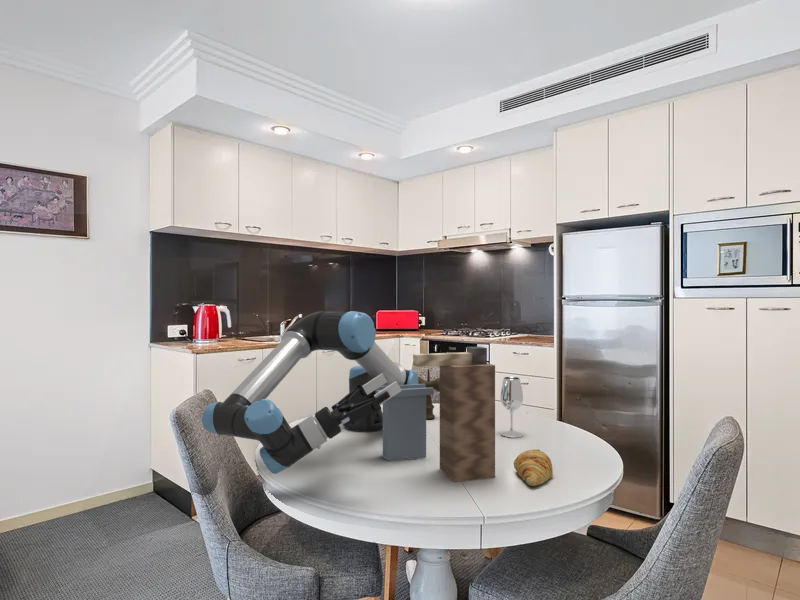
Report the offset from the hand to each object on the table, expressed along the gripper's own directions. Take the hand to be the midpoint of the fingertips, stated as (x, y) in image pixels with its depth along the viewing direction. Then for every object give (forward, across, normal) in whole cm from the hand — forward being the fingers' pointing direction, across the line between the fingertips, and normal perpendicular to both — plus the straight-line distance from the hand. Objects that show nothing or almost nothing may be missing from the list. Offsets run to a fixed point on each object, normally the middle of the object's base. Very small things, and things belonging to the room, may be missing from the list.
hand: (391, 381), depth 130 cm
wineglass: (+32, -31, -49) cm, 66 cm away
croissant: (+20, +6, -42) cm, 47 cm away
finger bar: (+16, 0, -5) cm, 17 cm away
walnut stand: (+6, 0, -33) cm, 34 cm away
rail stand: (-5, -19, -27) cm, 34 cm away
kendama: (+15, -62, -39) cm, 75 cm away
